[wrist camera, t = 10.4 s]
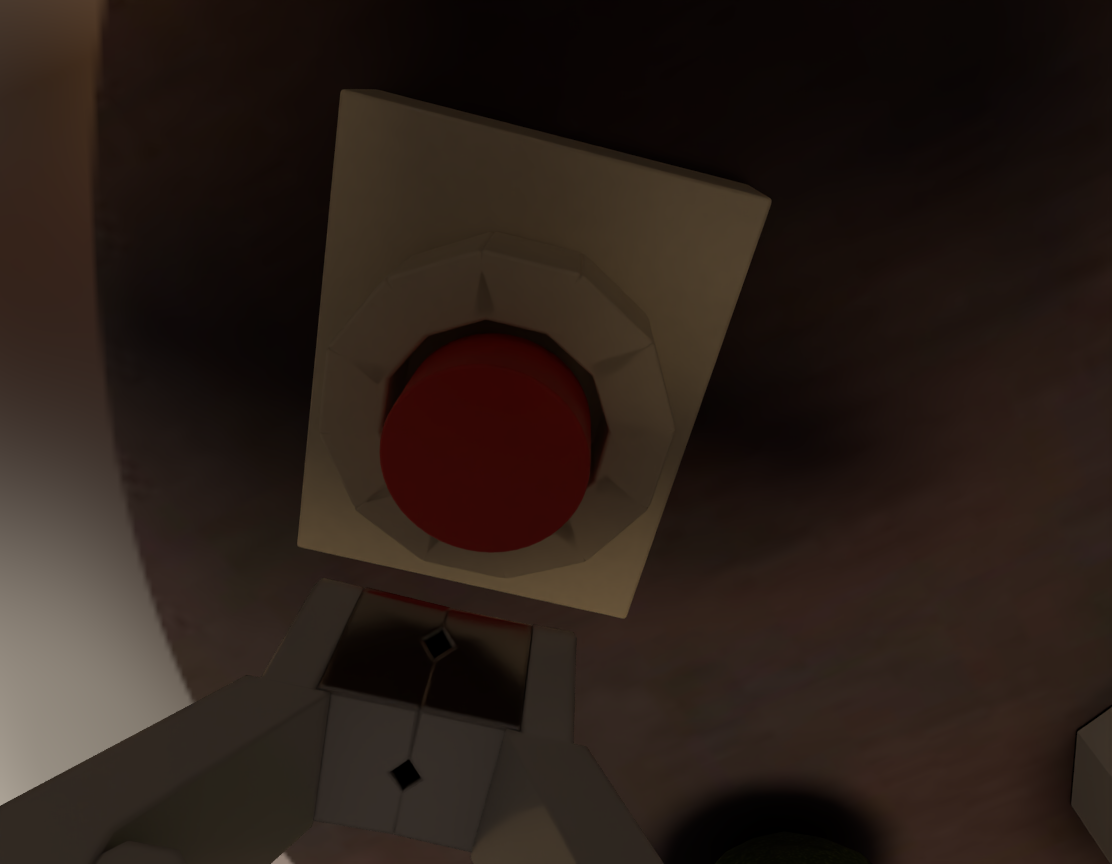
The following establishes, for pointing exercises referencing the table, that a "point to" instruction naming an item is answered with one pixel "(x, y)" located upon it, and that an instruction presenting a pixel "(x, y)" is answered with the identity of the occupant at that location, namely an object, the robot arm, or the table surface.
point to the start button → (488, 444)
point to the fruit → (791, 851)
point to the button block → (517, 324)
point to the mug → (1095, 780)
